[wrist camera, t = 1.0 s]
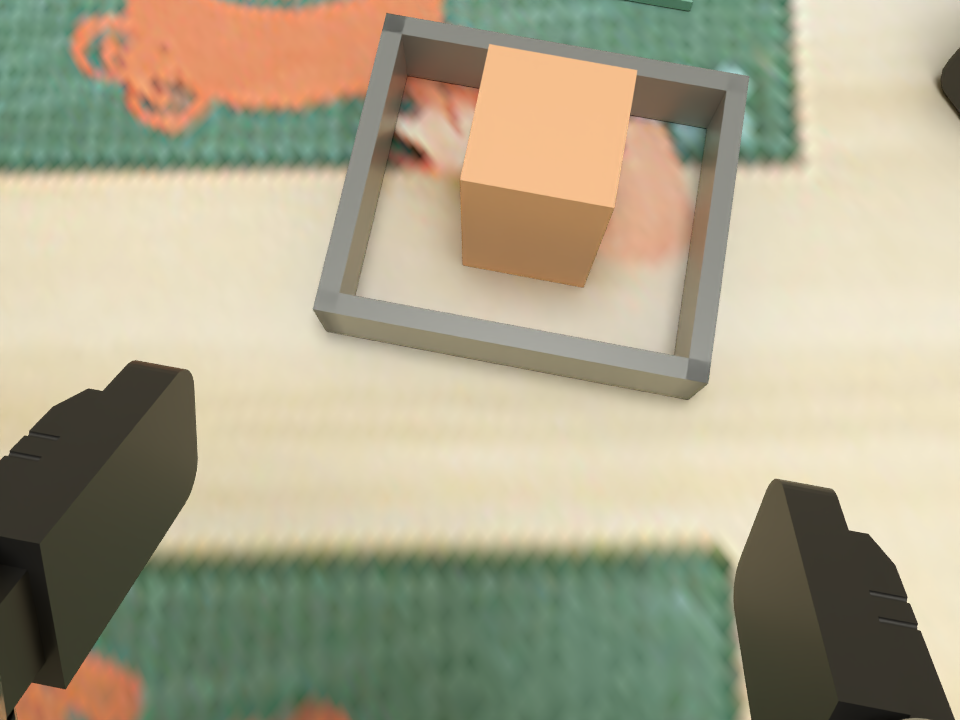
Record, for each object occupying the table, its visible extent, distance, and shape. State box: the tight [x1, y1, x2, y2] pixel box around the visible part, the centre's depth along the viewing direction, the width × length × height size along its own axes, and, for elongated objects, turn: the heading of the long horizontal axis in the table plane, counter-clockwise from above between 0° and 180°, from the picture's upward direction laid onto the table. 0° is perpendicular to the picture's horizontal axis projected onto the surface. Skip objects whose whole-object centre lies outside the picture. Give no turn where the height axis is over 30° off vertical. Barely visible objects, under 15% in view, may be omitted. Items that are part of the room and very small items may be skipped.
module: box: [460, 44, 637, 287], centre depth 33 cm, size 5×5×8 cm
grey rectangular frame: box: [313, 13, 749, 400], centre depth 35 cm, size 15×13×3 cm
